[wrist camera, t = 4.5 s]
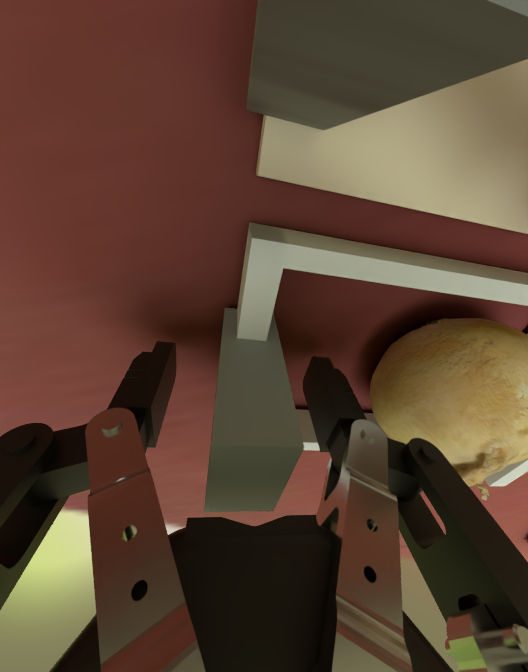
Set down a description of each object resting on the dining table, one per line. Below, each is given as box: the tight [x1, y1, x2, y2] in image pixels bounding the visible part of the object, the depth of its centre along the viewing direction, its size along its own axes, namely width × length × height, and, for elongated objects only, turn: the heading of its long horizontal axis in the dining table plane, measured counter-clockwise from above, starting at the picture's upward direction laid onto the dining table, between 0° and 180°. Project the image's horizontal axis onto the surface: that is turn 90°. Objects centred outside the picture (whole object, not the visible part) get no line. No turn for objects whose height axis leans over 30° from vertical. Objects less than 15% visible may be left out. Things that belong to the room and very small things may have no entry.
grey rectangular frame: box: [204, 222, 528, 512], centre depth 12 cm, size 12×19×7 cm, turn 80°
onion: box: [370, 318, 528, 500], centre depth 12 cm, size 8×8×7 cm
